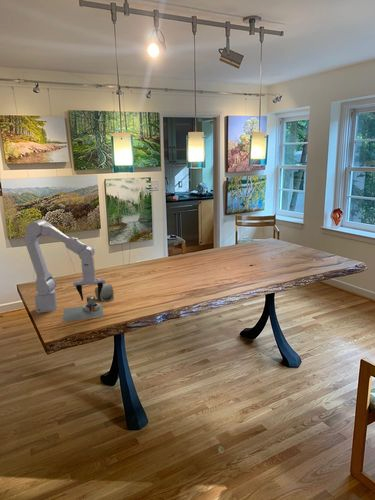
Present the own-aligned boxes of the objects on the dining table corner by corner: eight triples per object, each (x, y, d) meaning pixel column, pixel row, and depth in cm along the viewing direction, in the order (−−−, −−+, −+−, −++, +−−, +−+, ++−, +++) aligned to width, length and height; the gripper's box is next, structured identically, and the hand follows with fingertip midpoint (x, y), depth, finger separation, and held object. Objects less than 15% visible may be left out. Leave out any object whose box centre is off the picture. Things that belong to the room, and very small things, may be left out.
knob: (87, 307, 184) (86, 296, 183) (95, 306, 185) (94, 295, 184) (88, 311, 179) (87, 299, 178) (96, 309, 181) (95, 298, 179)
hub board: (62, 323, 168) (62, 318, 168) (64, 310, 183) (63, 305, 183) (103, 318, 173) (103, 313, 172) (102, 305, 188) (101, 301, 187)
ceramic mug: (94, 298, 198) (93, 284, 196) (109, 295, 202) (108, 281, 200) (101, 304, 189) (99, 290, 187) (116, 301, 193) (115, 287, 191)
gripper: (72, 275, 173) (74, 303, 176) (104, 272, 176) (106, 300, 180) (72, 271, 179) (75, 298, 183) (103, 268, 183) (105, 295, 186)
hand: (90, 299), depth 182 cm, fingers open, 7 cm apart
